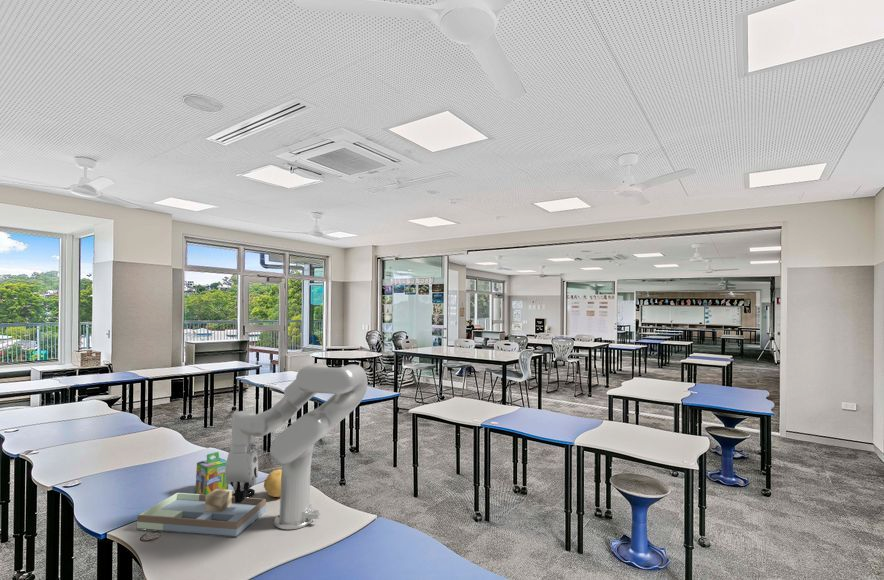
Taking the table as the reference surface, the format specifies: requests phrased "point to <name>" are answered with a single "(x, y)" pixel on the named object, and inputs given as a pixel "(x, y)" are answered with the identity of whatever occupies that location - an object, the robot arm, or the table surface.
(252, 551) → the table surface
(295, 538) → the table surface
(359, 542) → the table surface
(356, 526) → the table surface
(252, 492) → the webcam
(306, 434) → the robot arm
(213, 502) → the block
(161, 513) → the box
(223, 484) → the chalk box
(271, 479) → the stress ball
